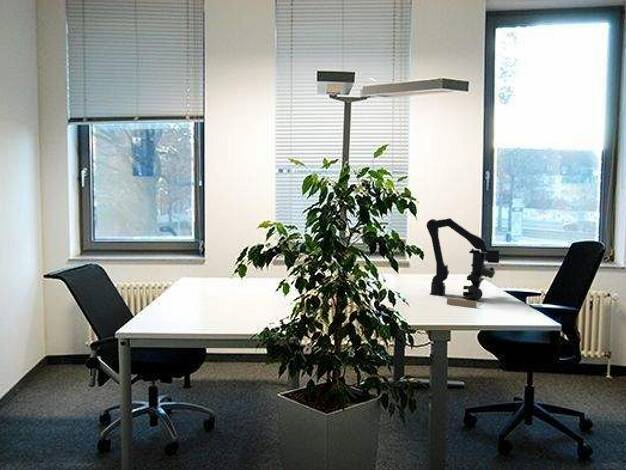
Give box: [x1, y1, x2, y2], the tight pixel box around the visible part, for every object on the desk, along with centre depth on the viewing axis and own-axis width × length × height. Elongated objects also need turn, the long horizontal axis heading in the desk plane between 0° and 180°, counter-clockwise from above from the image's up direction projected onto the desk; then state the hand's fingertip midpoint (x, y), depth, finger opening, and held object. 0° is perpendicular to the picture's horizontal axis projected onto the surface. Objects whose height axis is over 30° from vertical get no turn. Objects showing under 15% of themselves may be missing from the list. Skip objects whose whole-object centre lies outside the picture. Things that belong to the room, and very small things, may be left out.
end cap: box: [462, 284, 483, 302], centre depth 326 cm, size 10×7×7 cm
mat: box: [446, 297, 485, 309], centre depth 316 cm, size 14×15×3 cm
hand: (476, 292), depth 333 cm, fingers closed
